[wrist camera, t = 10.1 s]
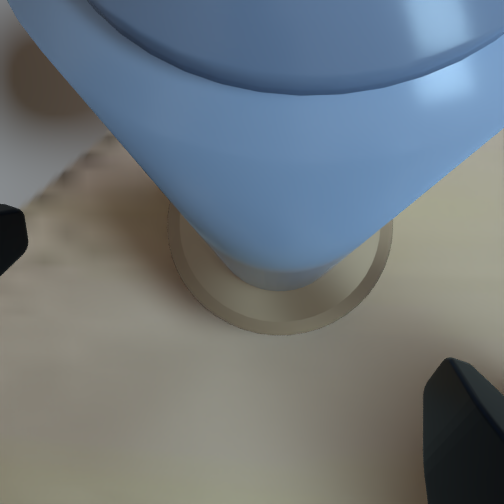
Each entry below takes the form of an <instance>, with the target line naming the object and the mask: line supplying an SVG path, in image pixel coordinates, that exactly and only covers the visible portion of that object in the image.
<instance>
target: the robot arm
mask: <svg viewBox="0 0 504 504" xmlns="http://www.w3.org/2000/svg"><path fill="white" fill-rule="evenodd" d="M27 246H28V235H27V229H26V222H25V216H24V214H23V212H22V211H21V210H20V209H17V208H14V207H11V206H8V205H5V204H0V276H1V275H2V274H3V273H4V272H5V271H6V270H7V269H8V268H9V267H10V266H12V265H13V264H14V263H15V262H16V261H17V260H18V259H19V258H20V257H21V256H22V255H23V254H24V252H25V251H26V249H27ZM423 463H424V474H425V483H426V491H427V499H428V504H504V396H503V395H502V394H501V393H500V392H499V391H498V390H497V389H496V388H495V387H494V386H493V385H492V384H491V383H490V382H489V381H488V380H487V379H485V378H484V377H483V376H482V375H481V374H480V373H479V372H478V371H477V370H476V369H475V368H474V367H473V366H472V365H470V364H469V363H466V362H464V361H461V360H458V359H455V358H451V357H449V358H446V359H445V360H444V361H443V362H442V363H441V364H440V366H439V367H438V368H437V370H436V371H435V372H434V374H433V375H432V376H431V378H430V379H429V380H428V382H427V384H426V386H425V389H424V394H423Z"/></svg>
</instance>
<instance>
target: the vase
mask: <svg viewBox="0 0 504 504" xmlns="http://www.w3.org/2000/svg"><path fill="white" fill-rule="evenodd" d="M7 1H8V3H9V5H10V7H11V8H12V10H13V12H14V14H15V16H16V17H17V19H18V21H19V22H20V23H21V25H22V26H23V27H24V29H25V30H26V31H27V33H29V35H30V36H31V38H32V39H33V40H34V42H35V43H36V44H37V46H38V47H39V48H40V49H41V51H42V52H43V53H44V54H45V56H46V57H47V58H48V59H49V60H50V61H51V62H52V64H53V65H54V66H55V67H56V68H57V69H58V71H59V72H60V73H61V74H62V75H63V77H64V78H65V79H66V80H67V81H68V82H69V84H70V85H71V86H72V87H73V88H74V89H75V90H76V92H77V93H78V94H79V95H80V96H81V98H83V100H84V101H85V102H86V103H87V105H88V106H89V107H90V108H91V109H92V110H93V112H94V113H95V114H96V115H97V116H98V117H99V119H100V120H101V121H102V122H103V123H104V124H105V126H106V127H107V128H108V129H109V130H110V131H111V133H112V134H113V135H114V136H115V137H116V138H117V140H118V141H119V142H120V143H121V144H122V145H123V147H124V148H125V149H126V150H127V151H128V152H129V154H130V155H131V156H132V157H133V158H134V159H135V161H136V162H137V163H138V164H139V165H140V166H141V168H142V169H143V170H144V171H145V172H146V173H147V175H148V176H149V177H150V178H151V179H152V180H153V182H154V183H155V184H156V185H157V186H158V187H159V189H160V190H161V191H162V192H163V193H164V194H165V196H166V197H167V198H168V199H169V200H170V201H171V203H172V204H173V205H174V206H175V207H176V208H177V210H178V211H179V212H180V213H181V214H182V215H183V217H184V218H185V219H186V220H187V221H188V222H189V224H190V225H191V226H192V227H193V228H194V229H195V230H196V232H197V233H198V234H199V235H200V236H201V237H202V239H203V240H204V241H205V242H206V243H207V244H208V246H209V247H210V248H211V249H212V250H213V251H214V253H215V254H216V255H217V256H218V257H219V258H220V260H221V261H222V262H223V263H224V264H225V265H226V267H227V268H228V269H229V270H230V271H231V272H232V273H233V274H234V275H235V276H237V277H238V278H239V279H241V280H242V281H244V282H246V283H248V284H249V285H252V286H254V287H257V288H260V289H264V290H269V291H290V290H295V289H299V288H302V287H305V286H307V285H309V284H312V283H313V282H315V281H317V280H318V279H320V278H321V277H322V276H323V275H325V274H326V273H327V272H328V271H330V270H331V269H332V268H333V267H335V266H336V265H337V264H338V263H339V262H341V261H342V260H343V259H344V258H345V257H347V256H348V255H349V254H350V253H352V252H353V251H354V250H355V249H356V248H358V247H359V246H360V245H361V244H363V243H364V242H365V241H366V240H367V239H369V238H370V237H371V236H372V235H374V234H375V233H376V232H377V231H378V230H380V229H381V228H382V227H383V226H385V225H386V224H387V223H388V222H389V221H391V220H392V219H393V218H394V217H396V216H397V215H398V214H399V213H400V212H402V211H403V210H404V209H405V208H407V207H408V206H409V205H410V204H411V203H413V202H414V201H415V200H416V199H418V198H419V197H420V196H421V195H422V194H424V193H425V192H426V191H427V190H429V189H430V188H431V187H432V186H433V185H435V184H436V183H437V182H438V181H439V180H441V179H442V178H443V177H444V176H446V175H447V174H448V173H449V172H450V171H452V170H453V169H454V168H455V167H457V166H458V165H459V164H460V163H461V162H463V161H464V160H465V159H466V158H468V157H469V156H470V155H471V154H472V153H474V152H475V151H476V150H477V149H479V148H480V147H481V146H482V145H483V144H485V143H486V142H487V141H488V140H490V139H491V138H492V137H493V136H494V135H496V134H497V133H498V132H499V131H501V130H502V129H503V128H504V0H7Z"/></svg>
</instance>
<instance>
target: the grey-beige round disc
mask: <svg viewBox="0 0 504 504" xmlns="http://www.w3.org/2000/svg"><path fill="white" fill-rule="evenodd" d="M392 233H393V219H392V220H391V221H389V222H388V223H387V224H386V225H385V226H383V227H382V228H381V229H380V230H378V231H377V232H376V233H375V234H374V235H372V236H371V237H370V238H369V239H367V240H366V241H365V242H364V243H363V244H361V245H360V246H359V247H358V248H356V249H355V250H354V251H353V252H352V253H350V254H349V255H348V256H347V257H345V258H344V259H343V260H342V261H341V262H339V263H338V264H337V265H336V266H335V267H333V268H332V269H331V270H330V271H328V272H327V273H326V274H325V275H323V276H322V277H321V278H320V279H318V280H317V281H315V282H313V283H312V284H309V285H307V286H305V287H302V288H299V289H295V290H290V291H269V290H264V289H260V288H257V287H254V286H252V285H249V284H248V283H246V282H244V281H242V280H241V279H239V278H238V277H237V276H235V275H234V274H233V273H232V272H231V271H230V270H229V269H228V268H227V267H226V265H225V264H224V263H223V262H222V261H221V260H220V258H219V257H218V256H217V255H216V254H215V253H214V251H213V250H212V249H211V248H210V247H209V246H208V244H207V243H206V242H205V241H204V240H203V239H202V237H201V236H200V235H199V234H198V233H197V232H196V230H195V229H194V228H193V227H192V226H191V225H190V224H189V222H188V221H187V220H186V219H185V218H184V217H183V215H182V214H181V213H180V212H179V211H178V210H177V208H176V207H175V206H174V205H173V204H172V203H171V201H170V206H169V212H168V239H169V246H170V250H171V254H172V258H173V261H174V263H175V266H176V268H177V271H178V273H179V275H180V276H181V278H182V280H183V282H184V284H185V285H186V286H187V288H188V289H189V290H190V292H191V293H192V294H193V296H194V297H195V298H196V299H197V300H198V301H199V302H200V303H201V304H202V305H203V306H204V307H205V308H206V309H208V310H209V311H210V312H212V313H213V314H214V315H216V316H217V317H219V318H221V319H222V320H224V321H226V322H227V323H229V324H232V325H234V326H236V327H239V328H241V329H244V330H248V331H251V332H255V333H260V334H268V335H293V334H300V333H306V332H309V331H313V330H316V329H320V328H322V327H324V326H326V325H329V324H331V323H333V322H335V321H337V320H338V319H340V318H342V317H343V316H345V315H346V314H348V313H349V312H350V311H351V310H353V309H354V308H355V307H356V306H358V305H359V304H360V303H361V301H362V300H363V299H364V298H365V297H366V296H367V295H368V294H369V293H370V291H371V290H372V288H373V287H374V286H375V284H376V283H377V281H378V279H379V277H380V275H381V274H382V272H383V270H384V267H385V265H386V262H387V259H388V256H389V252H390V248H391V243H392Z"/></svg>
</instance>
